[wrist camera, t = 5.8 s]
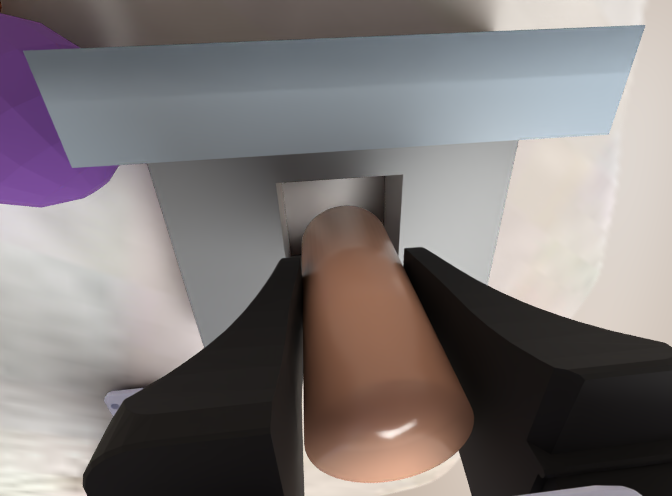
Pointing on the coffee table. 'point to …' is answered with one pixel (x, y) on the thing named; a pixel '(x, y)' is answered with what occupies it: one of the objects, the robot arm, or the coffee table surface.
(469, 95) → the socket
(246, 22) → the coffee table surface
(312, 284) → the peg
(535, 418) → the robot arm
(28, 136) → the kendama
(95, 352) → the coffee table surface
